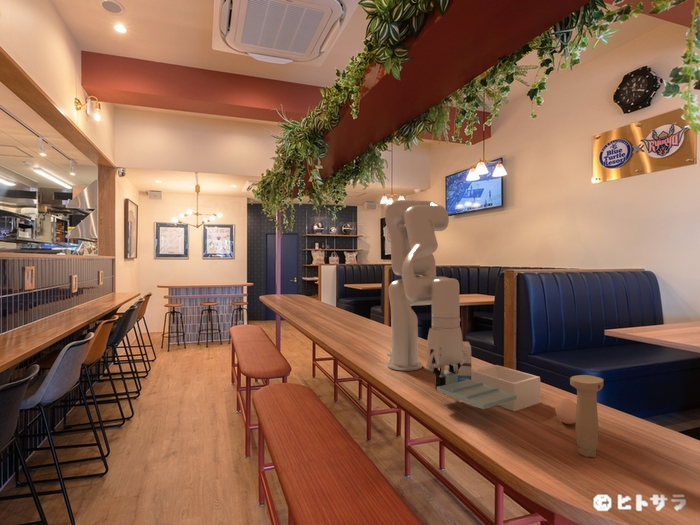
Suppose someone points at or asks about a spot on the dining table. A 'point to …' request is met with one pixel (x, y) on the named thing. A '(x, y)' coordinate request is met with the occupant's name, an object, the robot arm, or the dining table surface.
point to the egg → (566, 411)
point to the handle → (586, 413)
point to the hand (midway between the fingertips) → (446, 388)
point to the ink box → (465, 363)
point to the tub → (510, 385)
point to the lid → (473, 392)
